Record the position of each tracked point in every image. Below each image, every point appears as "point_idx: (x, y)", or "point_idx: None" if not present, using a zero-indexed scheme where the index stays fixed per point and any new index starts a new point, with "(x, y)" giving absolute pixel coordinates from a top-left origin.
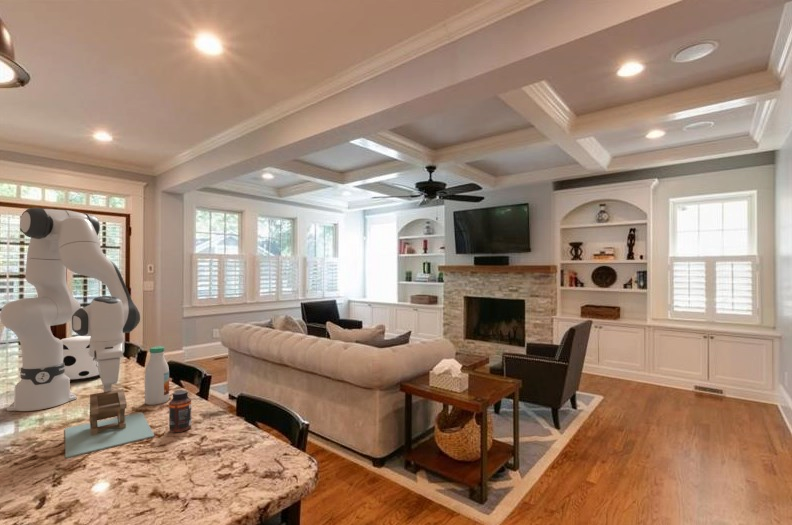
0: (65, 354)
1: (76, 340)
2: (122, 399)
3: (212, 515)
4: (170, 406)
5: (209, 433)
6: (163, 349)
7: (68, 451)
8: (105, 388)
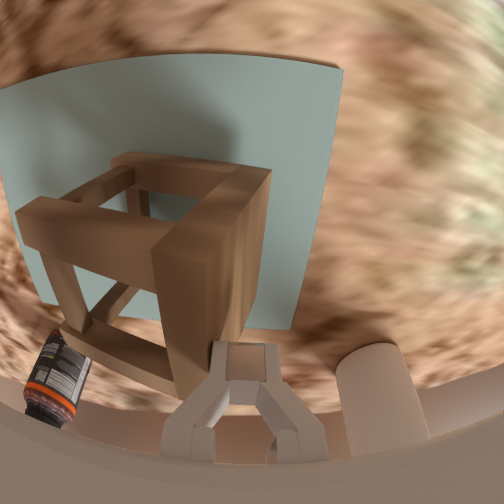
0: None
1: None
2: (96, 355)
3: None
4: (30, 384)
5: (36, 358)
6: None
7: (21, 90)
8: (208, 380)
